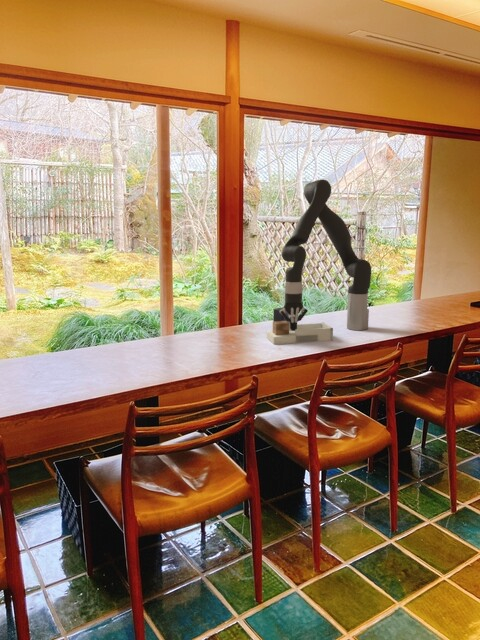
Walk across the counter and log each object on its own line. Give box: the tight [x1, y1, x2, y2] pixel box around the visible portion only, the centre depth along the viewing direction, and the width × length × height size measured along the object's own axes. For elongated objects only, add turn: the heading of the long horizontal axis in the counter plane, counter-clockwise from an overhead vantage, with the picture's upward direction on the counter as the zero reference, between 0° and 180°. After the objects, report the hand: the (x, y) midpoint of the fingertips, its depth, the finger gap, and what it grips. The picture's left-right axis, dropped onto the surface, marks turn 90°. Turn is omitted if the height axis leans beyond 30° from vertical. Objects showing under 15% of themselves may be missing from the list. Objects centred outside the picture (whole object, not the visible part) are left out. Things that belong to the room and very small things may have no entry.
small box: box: [272, 306, 290, 325], centre depth 255 cm, size 11×6×10 cm, turn 129°
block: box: [272, 321, 289, 335], centre depth 235 cm, size 6×5×5 cm
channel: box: [265, 322, 334, 345], centre depth 238 cm, size 27×11×6 cm, turn 103°
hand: (293, 330), depth 237 cm, fingers closed
